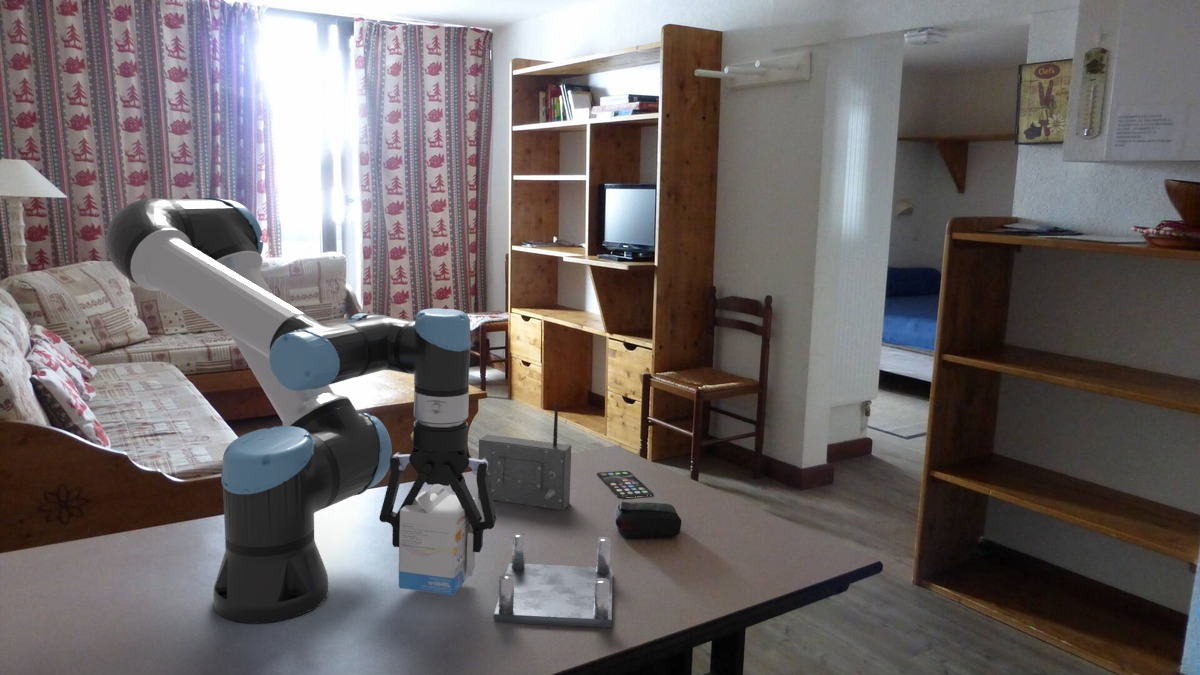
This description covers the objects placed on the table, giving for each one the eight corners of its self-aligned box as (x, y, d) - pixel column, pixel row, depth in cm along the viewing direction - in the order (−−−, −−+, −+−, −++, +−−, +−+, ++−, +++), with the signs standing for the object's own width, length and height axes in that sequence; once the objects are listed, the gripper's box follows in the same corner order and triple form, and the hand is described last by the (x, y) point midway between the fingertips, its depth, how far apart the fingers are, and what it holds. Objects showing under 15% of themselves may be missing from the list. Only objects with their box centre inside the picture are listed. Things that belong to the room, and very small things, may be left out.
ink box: (453, 597, 120) (456, 506, 118) (397, 588, 122) (398, 498, 119) (474, 570, 129) (477, 485, 126) (421, 562, 130) (423, 478, 128)
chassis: (493, 622, 117) (494, 579, 116) (508, 570, 133) (509, 532, 132) (611, 627, 117) (613, 585, 116) (612, 575, 133) (614, 537, 132)
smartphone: (628, 470, 181) (655, 494, 167) (628, 473, 181) (655, 498, 167) (595, 472, 179) (619, 497, 165) (595, 475, 179) (619, 500, 165)
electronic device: (569, 503, 162) (573, 400, 159) (557, 516, 156) (561, 409, 152) (484, 490, 167) (486, 390, 163) (469, 502, 160) (471, 398, 157)
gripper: (355, 422, 117) (354, 576, 121) (515, 432, 117) (508, 586, 121) (371, 407, 125) (369, 553, 129) (521, 417, 124) (514, 562, 129)
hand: (437, 569), depth 125 cm, fingers closed on ink box, 9 cm apart
